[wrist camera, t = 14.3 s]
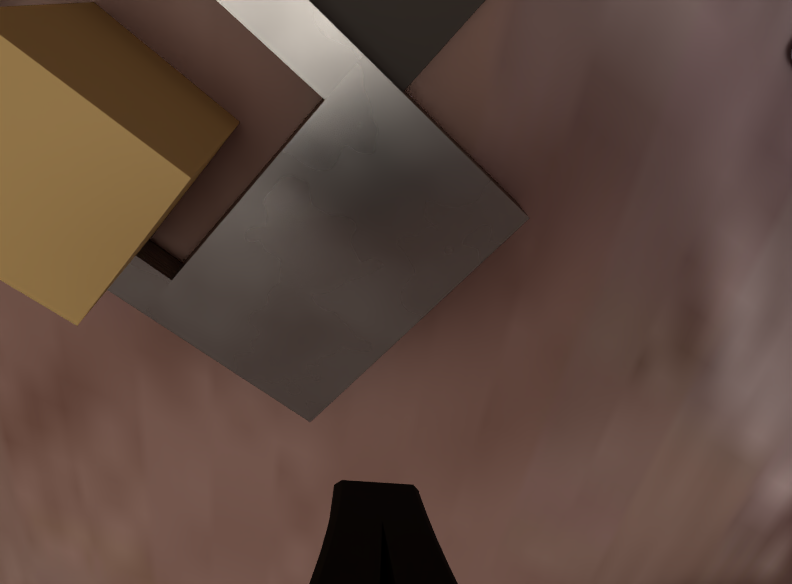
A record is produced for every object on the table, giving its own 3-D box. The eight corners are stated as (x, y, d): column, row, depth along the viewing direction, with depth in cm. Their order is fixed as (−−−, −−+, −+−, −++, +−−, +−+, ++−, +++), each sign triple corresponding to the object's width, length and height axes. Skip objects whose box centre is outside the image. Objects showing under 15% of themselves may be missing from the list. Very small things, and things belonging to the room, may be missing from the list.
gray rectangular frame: (519, 204, 18) (547, 242, 15) (312, 400, 21) (305, 459, 18) (72, -238, 13) (-4, -299, 10) (-120, 110, 16) (-218, 134, 13)
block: (240, 122, 16) (191, 178, 11) (153, 233, 18) (77, 325, 13) (94, 2, 15) (-36, 8, 10) (11, 134, 16) (-138, 197, 11)
